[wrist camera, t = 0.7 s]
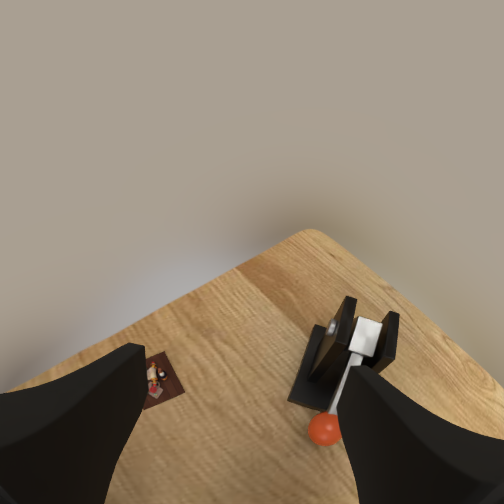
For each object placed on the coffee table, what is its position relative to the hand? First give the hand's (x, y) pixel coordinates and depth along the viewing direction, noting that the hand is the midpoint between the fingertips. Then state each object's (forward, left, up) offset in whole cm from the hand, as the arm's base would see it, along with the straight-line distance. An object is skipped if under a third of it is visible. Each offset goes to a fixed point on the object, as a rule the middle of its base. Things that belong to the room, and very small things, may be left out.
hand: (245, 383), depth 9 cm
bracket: (+5, -11, -18) cm, 21 cm away
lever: (+3, -9, -13) cm, 16 cm away
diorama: (+6, +7, -18) cm, 20 cm away
